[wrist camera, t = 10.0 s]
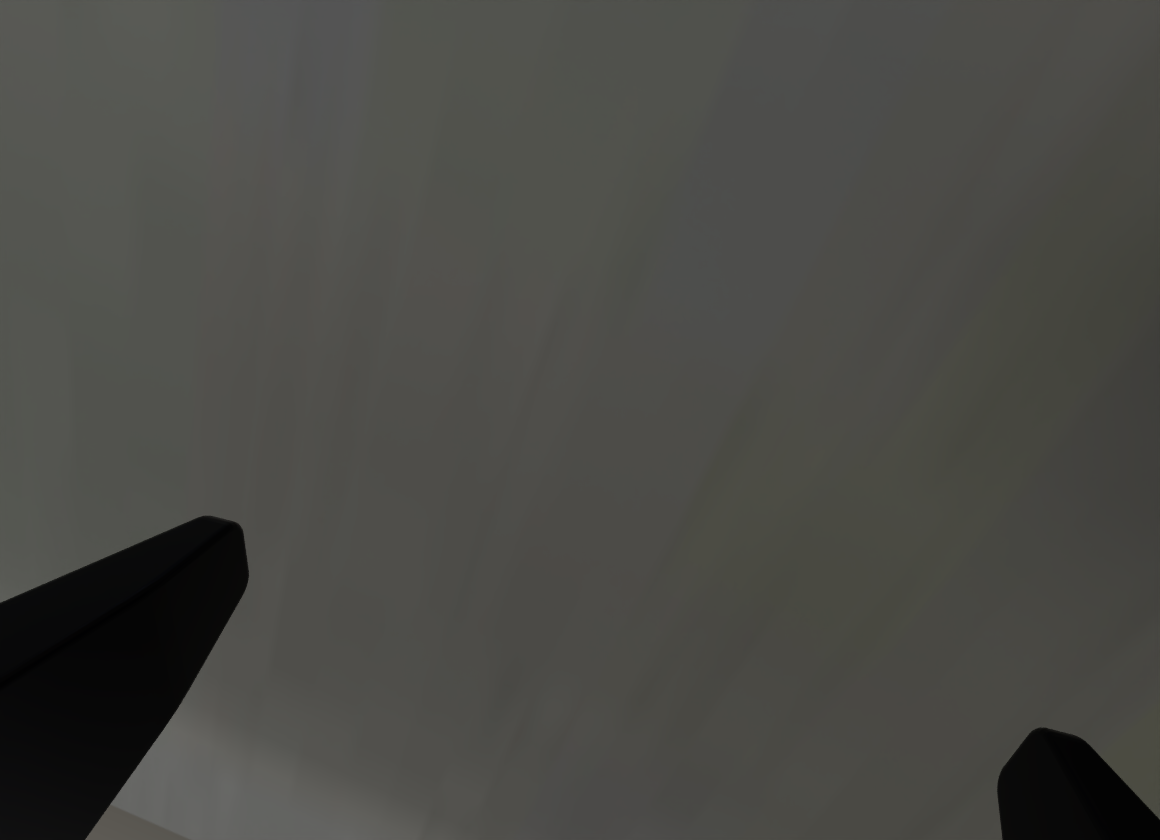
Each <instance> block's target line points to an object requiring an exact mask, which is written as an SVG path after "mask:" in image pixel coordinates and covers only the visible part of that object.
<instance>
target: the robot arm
mask: <svg viewBox="0 0 1160 840" xmlns="http://www.w3.org/2000/svg"><path fill="white" fill-rule="evenodd" d="M248 578H249V570H248V562H247V555H246V548H245V541H244V534H243V529H242V528H241V526H240V525H239V524H238V523H236V522H233V521H230V520H226V519H222V518H218V517H214V516H202V517H199V518H196V519H194V520H191V521H189V522H187V523H184V524H182V525H180V526H177V527H175V528H173V529H170V530H168V531H166V532H163V533H161V534H159V535H156V536H154V537H152V538H149V539H147V540H145V541H143V542H140V543H138V544H136V545H133V546H131V547H129V548H126V549H124V550H122V551H119V552H117V553H115V554H112V555H110V556H108V557H105V558H103V559H101V560H98V561H96V562H94V563H92V564H89V565H87V566H85V567H82V568H80V569H78V570H75V571H73V572H71V573H68V574H66V575H64V576H61V577H59V578H57V579H54V580H52V581H50V582H48V583H45V584H43V585H41V586H38V587H36V588H34V589H31V590H29V591H27V592H24V593H22V594H20V595H17V596H15V597H13V598H10V599H8V600H6V601H3V602H1V603H0V840H85V839H86V838H87V836H88V835H89V833H90V832H91V831H92V829H93V828H94V826H95V825H96V824H97V822H98V821H99V819H100V818H101V816H102V815H103V814H104V812H105V811H106V810H107V808H108V807H109V805H110V804H111V802H112V801H113V800H114V798H115V797H116V795H117V794H118V793H119V791H120V790H121V788H122V787H123V786H124V784H125V783H126V781H127V780H128V779H129V777H130V776H131V774H132V773H133V772H134V770H135V769H136V767H137V766H138V765H139V763H140V762H141V760H142V759H143V757H144V756H145V755H146V753H147V752H148V750H149V749H150V748H151V746H152V745H153V743H154V742H155V741H156V739H157V738H158V736H159V735H160V734H161V732H162V731H163V729H164V728H165V726H166V725H167V724H168V722H169V721H170V719H171V718H172V716H173V715H174V713H175V712H176V710H177V709H178V707H179V705H180V704H181V702H182V700H183V699H184V697H185V696H186V694H187V692H188V691H189V689H190V687H191V685H192V684H193V682H194V680H195V678H196V677H197V675H198V673H199V671H200V670H201V668H202V666H203V664H204V663H205V661H206V659H207V657H208V656H209V654H210V652H211V650H212V649H213V647H214V645H215V643H216V641H217V640H218V638H219V636H220V634H221V633H222V631H223V629H224V627H225V626H226V624H227V622H228V620H229V619H230V617H231V615H232V613H233V612H234V610H235V608H236V606H237V605H238V603H239V601H240V599H241V598H242V596H243V594H244V592H245V589H246V587H247V583H248ZM997 792H998V803H999V812H1000V821H1001V830H1002V839H1003V840H1160V819H1159V818H1158V817H1157V816H1156V815H1155V814H1154V813H1153V812H1152V811H1151V810H1150V809H1149V808H1148V807H1147V806H1146V805H1145V803H1144V802H1143V801H1142V800H1141V799H1140V798H1139V797H1138V796H1137V795H1136V794H1135V793H1134V792H1133V791H1132V790H1131V789H1130V788H1129V786H1128V785H1127V784H1126V783H1125V782H1124V781H1123V780H1122V779H1121V778H1120V777H1119V776H1118V775H1117V774H1116V773H1115V772H1114V771H1113V770H1112V768H1111V767H1110V766H1109V765H1108V764H1107V763H1106V762H1105V761H1104V760H1103V759H1102V758H1101V757H1100V756H1099V755H1098V754H1097V753H1096V751H1095V750H1094V749H1093V748H1092V747H1091V746H1090V745H1089V744H1088V743H1087V742H1086V741H1084V740H1083V739H1081V738H1080V737H1077V736H1075V735H1072V734H1068V733H1064V732H1060V731H1056V730H1052V729H1048V728H1037V729H1035V730H1033V731H1032V732H1031V733H1030V734H1029V735H1028V736H1027V737H1026V739H1025V740H1024V741H1023V743H1022V744H1021V745H1020V746H1019V748H1018V749H1017V750H1016V752H1015V753H1014V754H1013V755H1012V757H1011V758H1010V759H1009V761H1008V762H1007V763H1006V765H1005V766H1004V767H1003V769H1002V771H1001V773H1000V776H999V779H998V788H997Z"/></svg>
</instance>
